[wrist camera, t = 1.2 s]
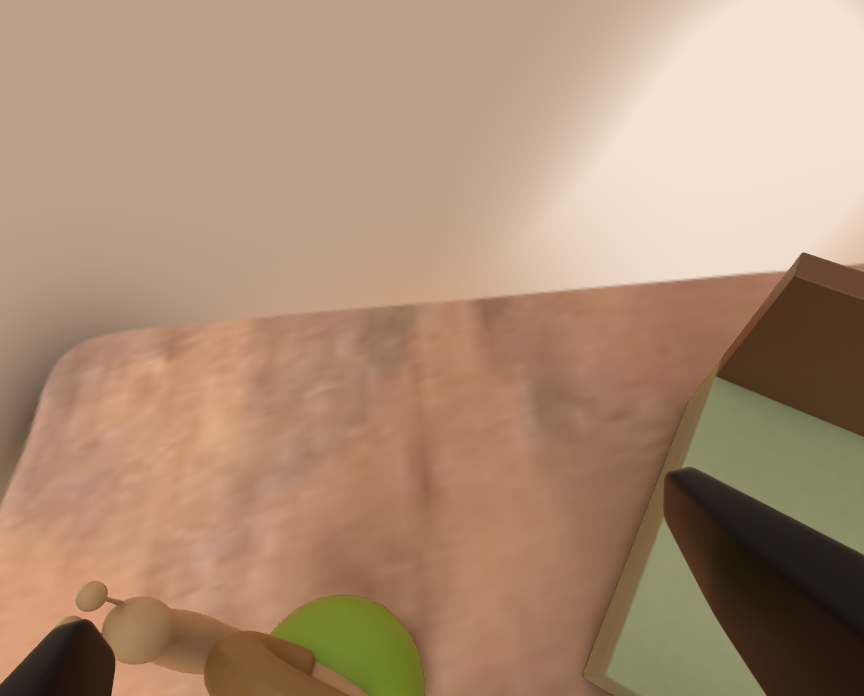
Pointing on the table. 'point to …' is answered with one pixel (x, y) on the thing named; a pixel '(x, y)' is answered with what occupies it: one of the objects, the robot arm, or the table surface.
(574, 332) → the table surface
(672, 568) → the bench with backrest
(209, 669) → the snail figurine
